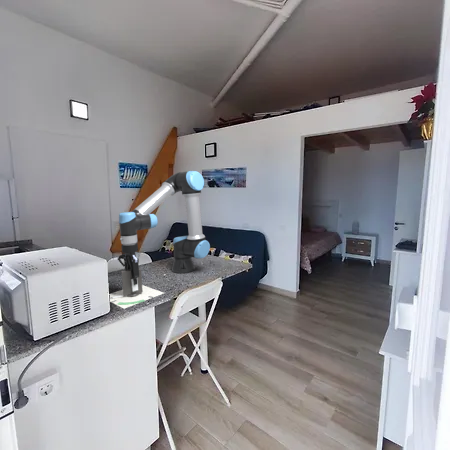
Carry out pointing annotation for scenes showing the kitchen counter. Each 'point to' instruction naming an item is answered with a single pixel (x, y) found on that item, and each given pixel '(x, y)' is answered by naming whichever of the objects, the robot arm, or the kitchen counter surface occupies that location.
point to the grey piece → (130, 284)
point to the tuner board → (131, 301)
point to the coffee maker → (123, 258)
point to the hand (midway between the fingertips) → (133, 289)
